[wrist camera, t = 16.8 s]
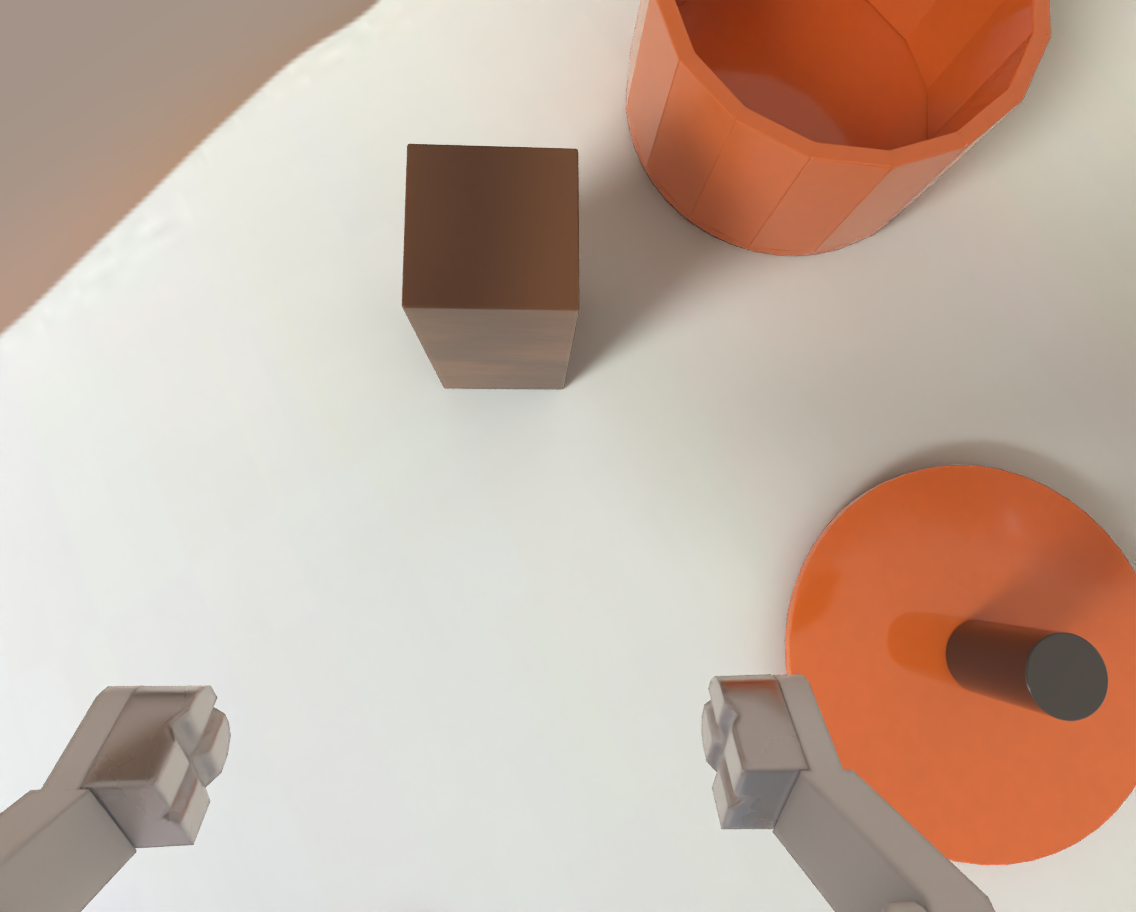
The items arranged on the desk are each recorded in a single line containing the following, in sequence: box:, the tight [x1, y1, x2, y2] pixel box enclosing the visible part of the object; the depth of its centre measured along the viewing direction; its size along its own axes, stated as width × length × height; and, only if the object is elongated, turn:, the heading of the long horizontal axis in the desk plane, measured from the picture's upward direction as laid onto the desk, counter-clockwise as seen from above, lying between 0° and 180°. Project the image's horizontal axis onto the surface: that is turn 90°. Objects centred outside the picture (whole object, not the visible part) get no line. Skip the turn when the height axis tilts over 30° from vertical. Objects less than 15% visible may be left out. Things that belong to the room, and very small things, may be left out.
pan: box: [626, 0, 1051, 256], centre depth 25 cm, size 13×13×6 cm
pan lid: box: [785, 465, 1136, 865], centre depth 23 cm, size 14×14×5 cm
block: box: [402, 144, 579, 389], centre depth 22 cm, size 5×5×8 cm
